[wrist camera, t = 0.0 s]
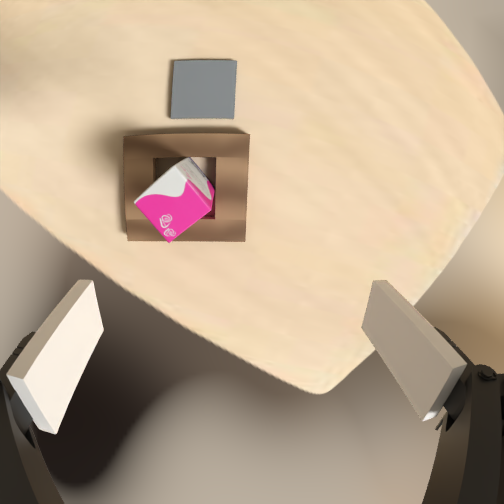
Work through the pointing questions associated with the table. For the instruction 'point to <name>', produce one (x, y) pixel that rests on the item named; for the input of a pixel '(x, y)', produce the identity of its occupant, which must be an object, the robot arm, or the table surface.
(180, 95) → the coaster
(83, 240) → the table surface
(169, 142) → the board
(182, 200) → the supplement box
